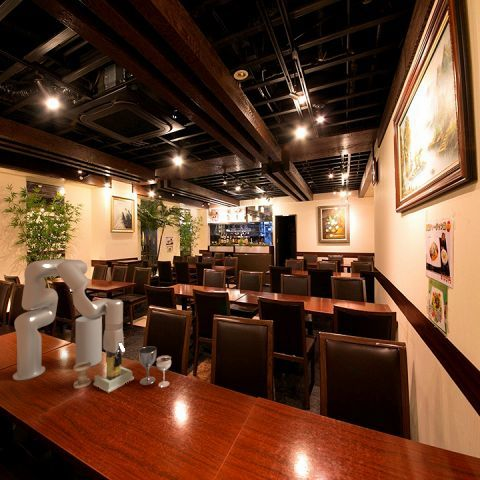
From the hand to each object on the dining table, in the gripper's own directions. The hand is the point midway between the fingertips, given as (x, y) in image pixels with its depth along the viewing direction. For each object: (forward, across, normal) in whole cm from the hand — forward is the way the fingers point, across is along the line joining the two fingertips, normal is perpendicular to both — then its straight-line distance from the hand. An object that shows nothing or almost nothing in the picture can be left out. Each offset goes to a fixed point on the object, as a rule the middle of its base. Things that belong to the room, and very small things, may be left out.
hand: (113, 363), depth 121 cm
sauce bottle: (+7, 0, 0) cm, 7 cm away
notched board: (+9, 0, 0) cm, 9 cm away
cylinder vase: (+9, -30, +4) cm, 31 cm away
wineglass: (+9, +22, +11) cm, 26 cm away
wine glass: (+9, +13, +9) cm, 18 cm away
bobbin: (+9, -11, -9) cm, 17 cm away
